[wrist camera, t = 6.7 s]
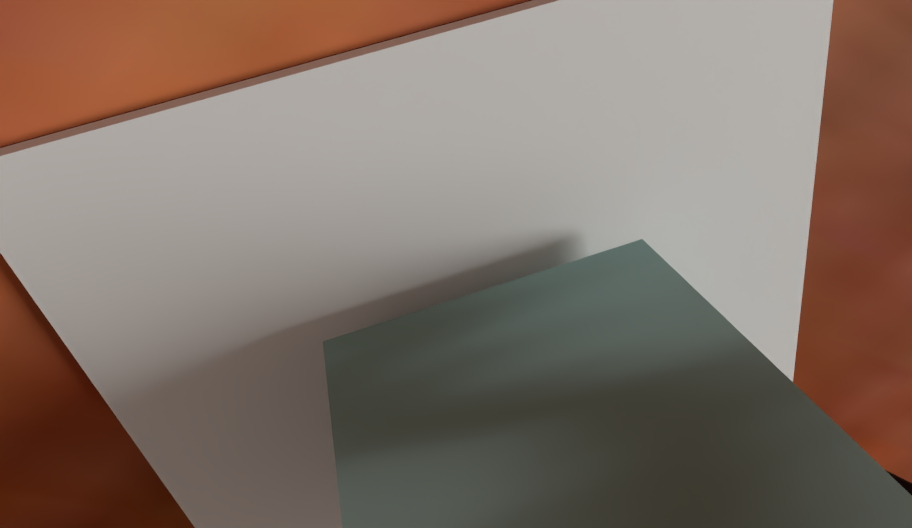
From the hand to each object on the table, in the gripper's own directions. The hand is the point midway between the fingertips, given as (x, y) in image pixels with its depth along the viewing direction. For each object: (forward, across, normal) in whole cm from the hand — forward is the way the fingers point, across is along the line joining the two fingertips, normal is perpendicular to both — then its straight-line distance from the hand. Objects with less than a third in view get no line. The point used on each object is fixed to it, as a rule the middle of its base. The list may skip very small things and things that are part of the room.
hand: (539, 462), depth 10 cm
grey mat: (+2, 0, 0) cm, 2 cm away
